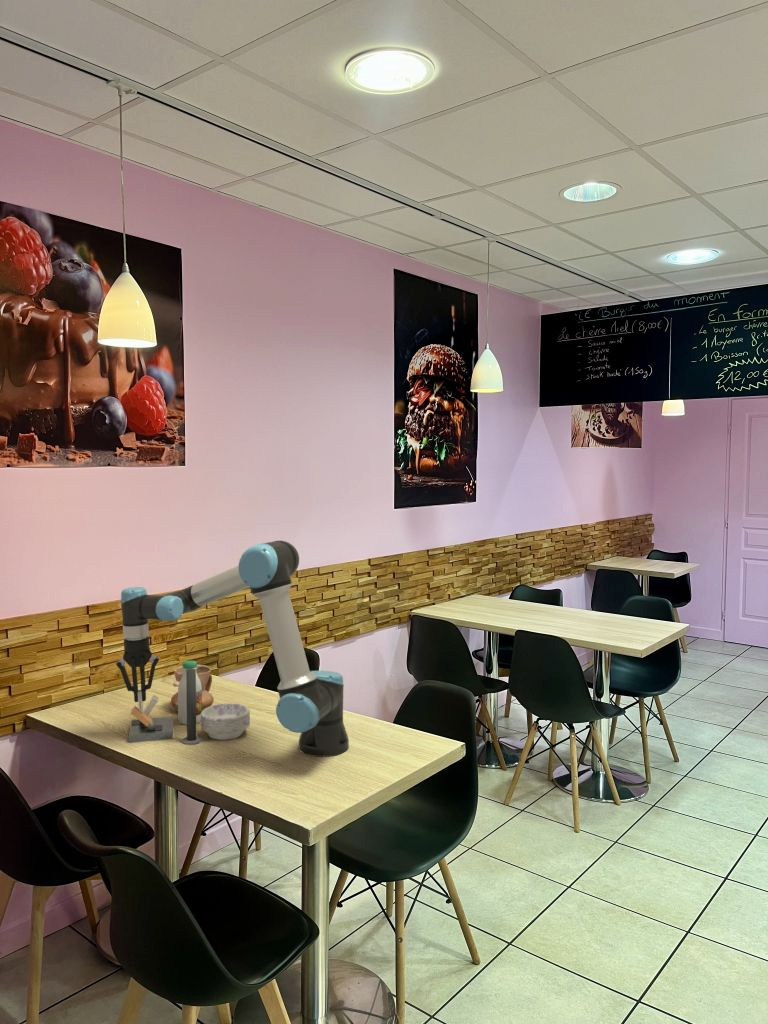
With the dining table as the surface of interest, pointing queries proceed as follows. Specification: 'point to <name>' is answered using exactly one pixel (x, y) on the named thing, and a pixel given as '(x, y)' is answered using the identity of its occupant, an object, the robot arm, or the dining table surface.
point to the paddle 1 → (150, 705)
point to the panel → (160, 731)
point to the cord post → (191, 709)
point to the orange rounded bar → (143, 718)
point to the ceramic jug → (205, 681)
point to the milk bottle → (183, 695)
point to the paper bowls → (225, 720)
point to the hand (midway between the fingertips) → (140, 711)
